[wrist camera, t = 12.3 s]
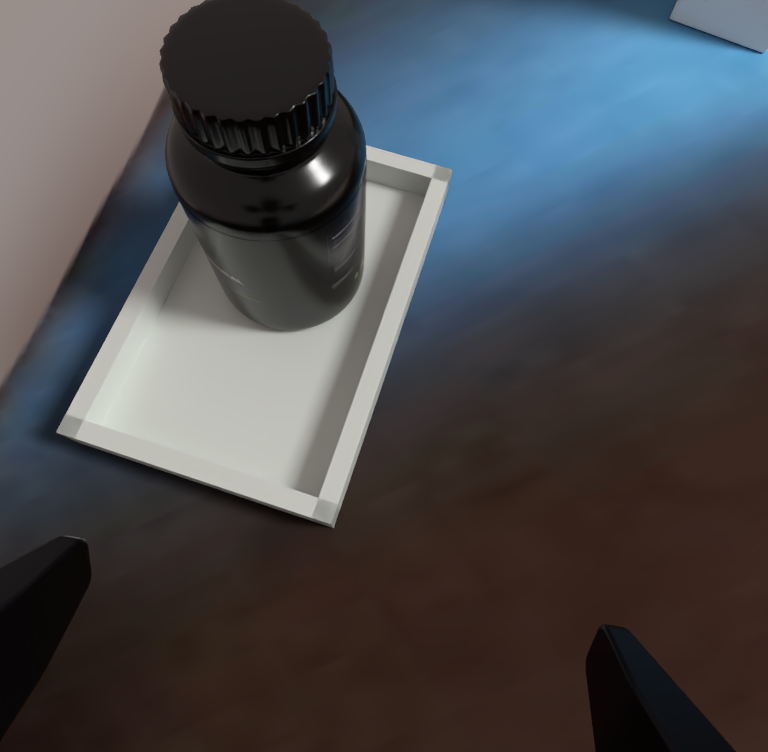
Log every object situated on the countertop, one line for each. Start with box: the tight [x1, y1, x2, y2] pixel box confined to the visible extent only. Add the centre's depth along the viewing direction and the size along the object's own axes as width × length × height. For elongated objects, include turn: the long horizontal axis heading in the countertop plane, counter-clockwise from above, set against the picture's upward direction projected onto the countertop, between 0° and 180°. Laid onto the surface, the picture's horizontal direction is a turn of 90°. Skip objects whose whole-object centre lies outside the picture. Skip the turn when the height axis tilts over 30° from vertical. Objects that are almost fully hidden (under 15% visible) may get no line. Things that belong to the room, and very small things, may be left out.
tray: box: [56, 145, 452, 528], centre depth 26 cm, size 18×12×2 cm, turn 162°
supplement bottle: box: [160, 0, 367, 330], centre depth 21 cm, size 7×7×12 cm
